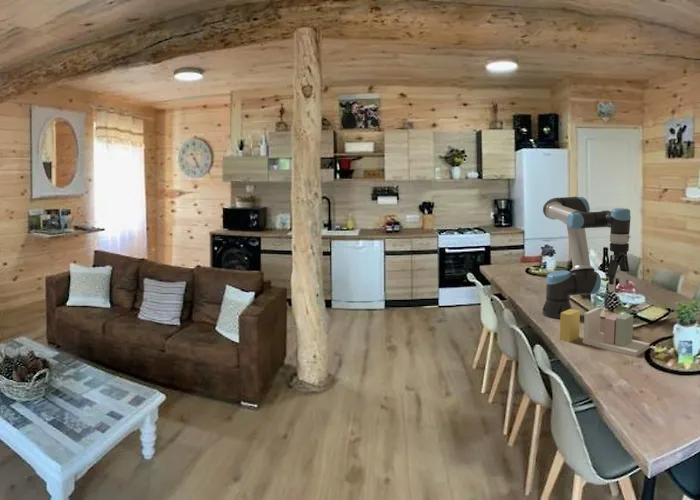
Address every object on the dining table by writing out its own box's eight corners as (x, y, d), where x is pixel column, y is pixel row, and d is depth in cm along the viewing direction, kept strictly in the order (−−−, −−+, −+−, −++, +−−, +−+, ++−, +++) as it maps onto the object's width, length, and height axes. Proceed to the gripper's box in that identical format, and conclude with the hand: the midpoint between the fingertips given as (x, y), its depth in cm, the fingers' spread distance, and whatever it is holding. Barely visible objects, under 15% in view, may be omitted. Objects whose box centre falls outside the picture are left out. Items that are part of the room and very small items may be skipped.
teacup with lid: (606, 337, 219) (607, 313, 217) (589, 331, 227) (590, 308, 225) (624, 332, 224) (625, 308, 222) (607, 327, 232) (608, 304, 230)
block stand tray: (582, 343, 213) (583, 313, 211) (597, 335, 222) (598, 306, 219) (635, 356, 196) (637, 324, 194) (649, 347, 204) (651, 316, 202)
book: (559, 340, 219) (560, 312, 217) (569, 335, 224) (570, 308, 222) (569, 342, 215) (570, 314, 213) (579, 337, 221) (579, 310, 219)
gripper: (618, 247, 204) (615, 295, 208) (638, 239, 220) (635, 283, 224) (599, 245, 210) (597, 292, 213) (620, 238, 226) (618, 281, 229)
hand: (617, 288), depth 218 cm, fingers open, 13 cm apart
